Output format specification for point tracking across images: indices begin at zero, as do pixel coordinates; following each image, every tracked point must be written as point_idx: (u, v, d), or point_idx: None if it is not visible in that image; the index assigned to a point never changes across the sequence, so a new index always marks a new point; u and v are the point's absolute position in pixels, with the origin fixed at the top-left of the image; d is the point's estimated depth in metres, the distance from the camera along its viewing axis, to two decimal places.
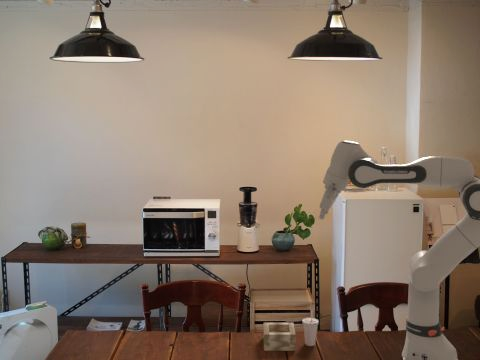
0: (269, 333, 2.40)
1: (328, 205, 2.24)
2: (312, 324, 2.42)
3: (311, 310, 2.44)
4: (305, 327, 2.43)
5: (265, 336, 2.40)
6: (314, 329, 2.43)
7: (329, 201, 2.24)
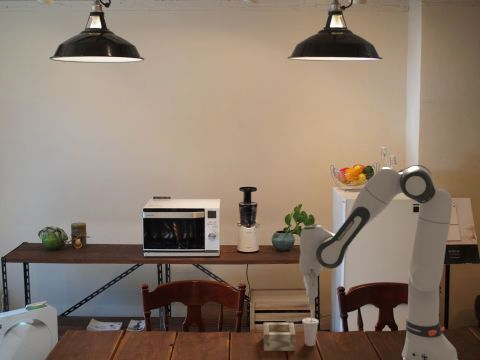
0: (269, 333, 2.40)
1: (316, 292, 2.33)
2: (312, 324, 2.42)
3: (311, 310, 2.44)
4: (305, 327, 2.43)
5: (265, 336, 2.40)
6: (314, 329, 2.43)
7: (315, 288, 2.32)
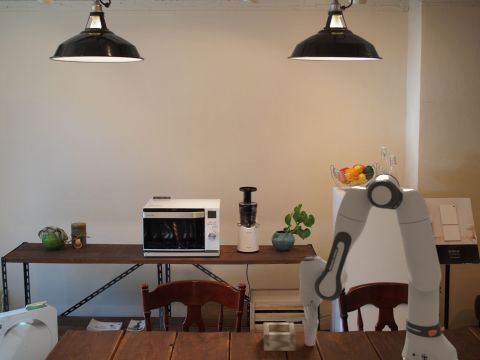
0: (269, 333, 2.40)
1: (316, 324, 2.34)
2: None
3: None
4: (305, 327, 2.43)
5: (265, 336, 2.40)
6: (314, 329, 2.43)
7: (315, 320, 2.34)
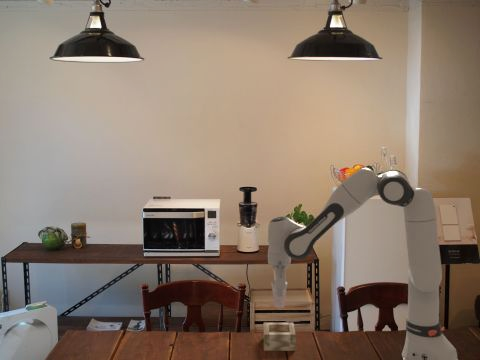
0: (269, 333, 2.40)
1: (283, 284, 2.32)
2: None
3: None
4: (274, 289, 2.41)
5: (265, 336, 2.40)
6: (283, 291, 2.41)
7: (283, 280, 2.32)
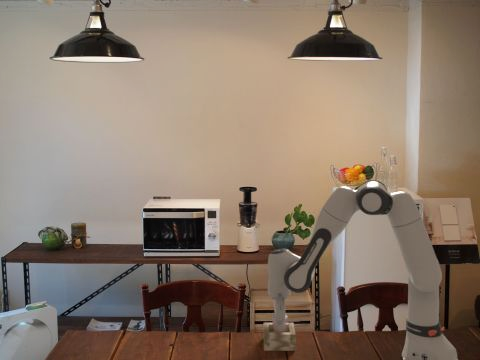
0: (269, 333, 2.40)
1: (283, 316, 2.34)
2: None
3: None
4: (274, 323, 2.44)
5: (265, 336, 2.40)
6: (283, 324, 2.44)
7: (283, 312, 2.34)
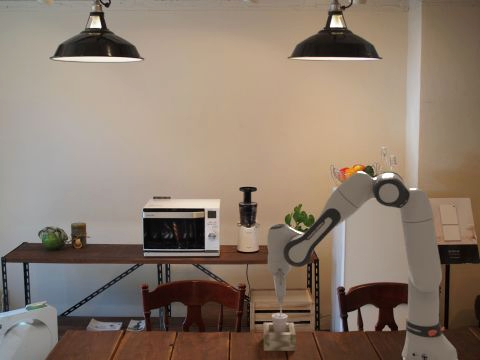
0: (269, 333, 2.40)
1: (284, 291, 2.33)
2: (281, 319, 2.43)
3: (280, 305, 2.45)
4: (274, 322, 2.44)
5: (265, 336, 2.40)
6: (283, 324, 2.44)
7: (283, 287, 2.32)
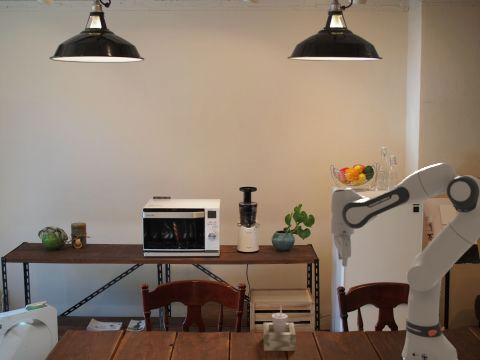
0: (269, 333, 2.40)
1: (349, 252, 2.38)
2: (281, 319, 2.43)
3: (280, 305, 2.45)
4: (274, 322, 2.44)
5: (265, 336, 2.40)
6: (283, 324, 2.44)
7: (349, 248, 2.38)
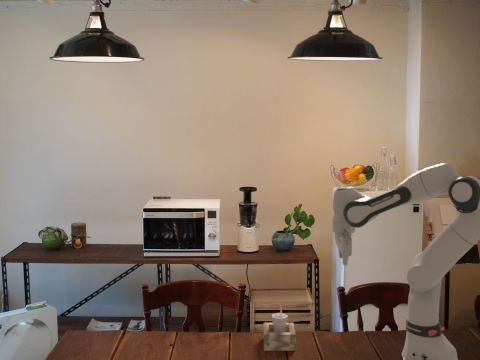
0: (269, 333, 2.40)
1: (350, 251, 2.38)
2: (281, 319, 2.43)
3: (280, 305, 2.45)
4: (274, 322, 2.44)
5: (265, 336, 2.40)
6: (283, 324, 2.44)
7: (350, 247, 2.38)
